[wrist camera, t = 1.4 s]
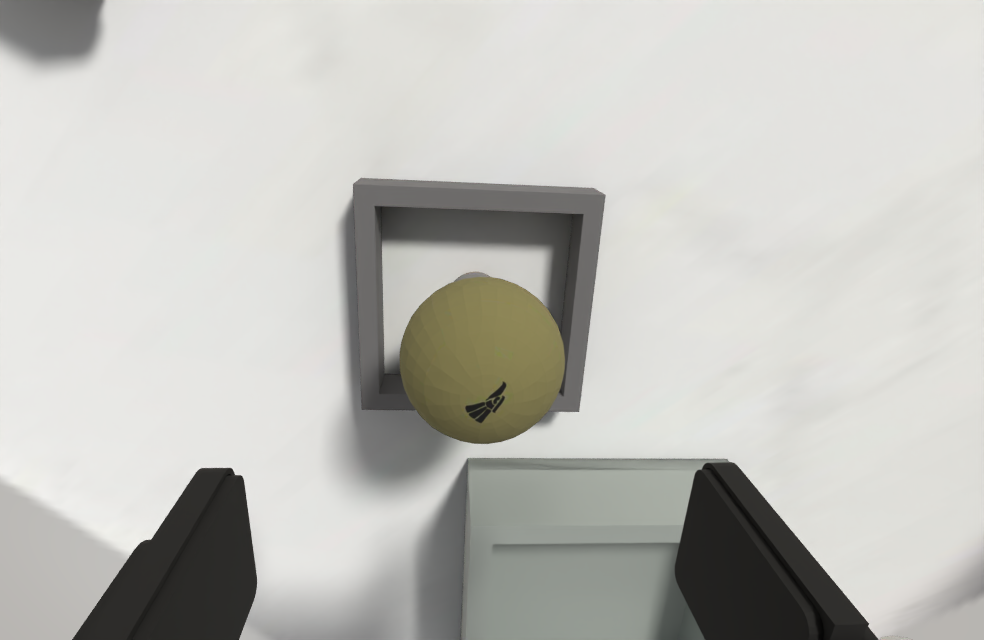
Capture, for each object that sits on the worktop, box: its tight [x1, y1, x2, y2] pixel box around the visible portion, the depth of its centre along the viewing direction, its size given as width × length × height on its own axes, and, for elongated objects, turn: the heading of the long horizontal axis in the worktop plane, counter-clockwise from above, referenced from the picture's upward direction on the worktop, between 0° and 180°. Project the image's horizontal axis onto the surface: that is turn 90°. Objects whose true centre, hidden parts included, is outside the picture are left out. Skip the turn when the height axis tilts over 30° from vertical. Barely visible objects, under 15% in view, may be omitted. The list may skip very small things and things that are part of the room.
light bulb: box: [400, 272, 565, 444], centre depth 21 cm, size 6×6×10 cm
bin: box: [461, 458, 729, 640], centre depth 29 cm, size 14×14×5 cm
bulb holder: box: [353, 178, 605, 412], centre depth 24 cm, size 10×10×2 cm
